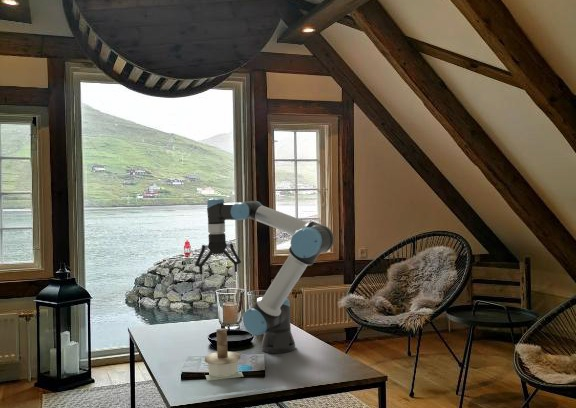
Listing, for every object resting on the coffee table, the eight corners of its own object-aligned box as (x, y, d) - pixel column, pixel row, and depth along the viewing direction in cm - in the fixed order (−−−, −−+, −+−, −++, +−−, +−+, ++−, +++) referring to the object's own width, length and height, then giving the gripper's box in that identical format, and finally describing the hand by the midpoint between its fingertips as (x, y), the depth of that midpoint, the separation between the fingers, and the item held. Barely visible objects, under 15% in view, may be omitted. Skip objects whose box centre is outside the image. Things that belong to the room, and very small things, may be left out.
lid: (232, 351, 234) (231, 323, 233) (246, 360, 221) (245, 330, 221) (199, 357, 227) (198, 328, 226) (212, 366, 215) (211, 336, 214)
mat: (238, 366, 233) (238, 365, 233) (243, 377, 219) (243, 376, 219) (203, 370, 229) (203, 369, 229) (207, 382, 216) (206, 380, 216)
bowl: (235, 366, 231) (234, 353, 231) (239, 375, 220) (238, 361, 220) (207, 369, 228) (207, 356, 228) (210, 378, 217) (209, 364, 217)
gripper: (243, 231, 261) (245, 277, 261) (188, 234, 255) (190, 281, 256) (245, 232, 253) (247, 279, 254) (188, 235, 248) (191, 284, 248)
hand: (218, 280), depth 255 cm, fingers open, 13 cm apart
